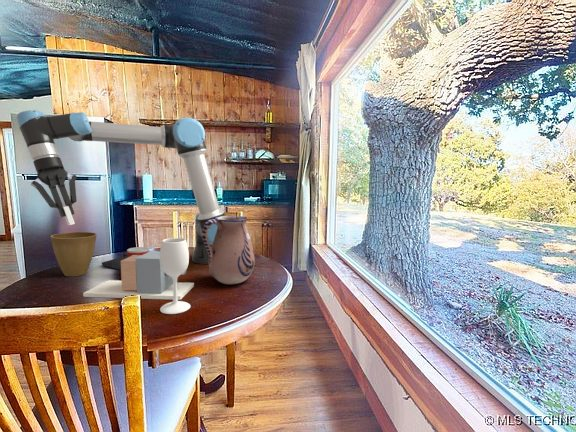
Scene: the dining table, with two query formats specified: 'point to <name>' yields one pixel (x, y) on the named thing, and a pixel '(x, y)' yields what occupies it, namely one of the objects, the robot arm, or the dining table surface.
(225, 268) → the ceramic pitcher
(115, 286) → the bearing block
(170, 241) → the wineglass
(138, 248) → the canned food
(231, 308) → the dining table surface
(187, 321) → the dining table surface
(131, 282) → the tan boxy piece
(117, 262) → the dark slate chunk
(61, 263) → the plant pot
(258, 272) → the dining table surface
